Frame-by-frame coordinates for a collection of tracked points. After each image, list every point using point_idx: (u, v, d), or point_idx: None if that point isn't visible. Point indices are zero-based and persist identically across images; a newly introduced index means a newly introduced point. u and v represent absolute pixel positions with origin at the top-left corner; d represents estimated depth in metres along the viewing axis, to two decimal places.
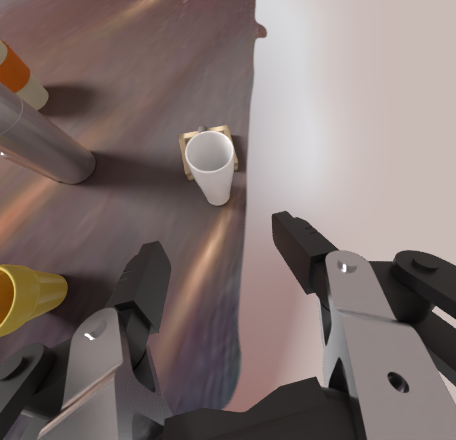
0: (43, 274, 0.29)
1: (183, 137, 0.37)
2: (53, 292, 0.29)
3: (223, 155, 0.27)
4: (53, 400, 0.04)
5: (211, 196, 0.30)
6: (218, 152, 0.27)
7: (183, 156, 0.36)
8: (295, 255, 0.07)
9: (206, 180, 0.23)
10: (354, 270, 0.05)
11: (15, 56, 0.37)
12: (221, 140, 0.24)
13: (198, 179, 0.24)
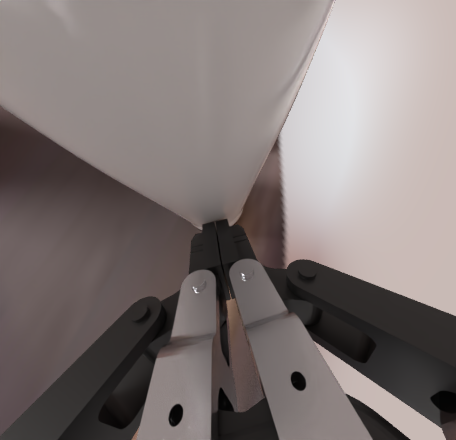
0: None
1: None
2: None
3: None
4: None
5: (187, 217, 0.08)
6: None
7: None
8: None
9: (8, 69, 0.02)
10: (247, 278, 0.05)
11: None
12: None
13: None
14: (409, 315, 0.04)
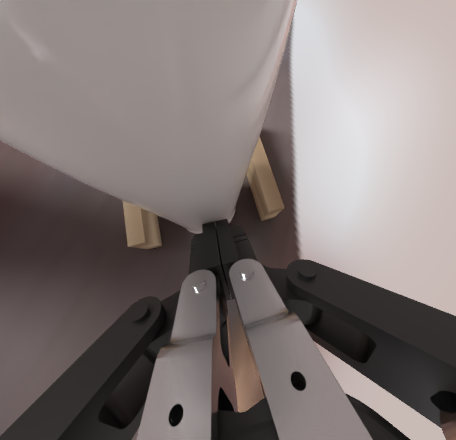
0: None
1: None
2: None
3: None
4: None
5: (189, 223, 0.08)
6: None
7: None
8: None
9: (41, 97, 0.02)
10: (247, 278, 0.05)
11: None
12: None
13: None
14: (409, 315, 0.04)
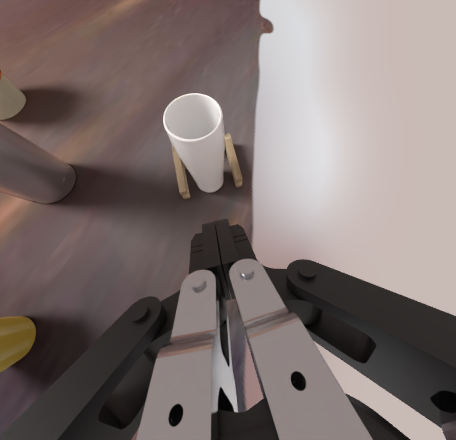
0: (1, 323, 0.23)
1: None
2: (13, 345, 0.23)
3: (208, 127, 0.23)
4: (158, 355, 0.05)
5: (204, 179, 0.26)
6: (202, 124, 0.23)
7: (177, 171, 0.30)
8: None
9: (196, 153, 0.19)
10: (247, 278, 0.05)
11: None
12: (203, 104, 0.20)
13: (186, 155, 0.20)
14: (409, 315, 0.04)
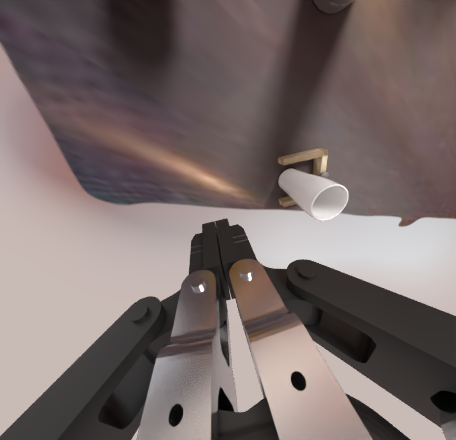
0: None
1: (323, 155, 0.35)
2: None
3: (324, 199, 0.32)
4: (158, 355, 0.05)
5: (288, 187, 0.34)
6: (328, 195, 0.32)
7: (302, 156, 0.35)
8: None
9: (304, 200, 0.29)
10: (247, 278, 0.05)
11: None
12: (338, 205, 0.29)
13: (305, 192, 0.28)
14: (409, 315, 0.04)
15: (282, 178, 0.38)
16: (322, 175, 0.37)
